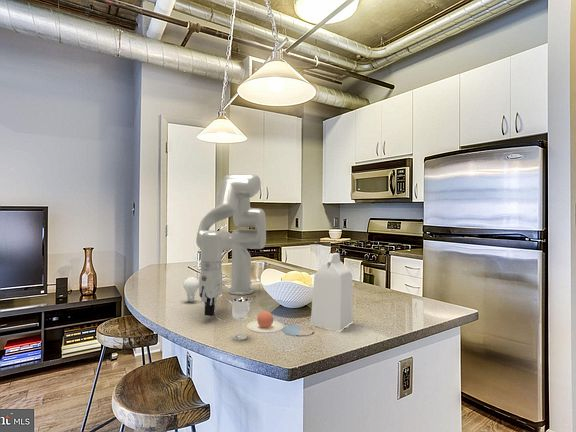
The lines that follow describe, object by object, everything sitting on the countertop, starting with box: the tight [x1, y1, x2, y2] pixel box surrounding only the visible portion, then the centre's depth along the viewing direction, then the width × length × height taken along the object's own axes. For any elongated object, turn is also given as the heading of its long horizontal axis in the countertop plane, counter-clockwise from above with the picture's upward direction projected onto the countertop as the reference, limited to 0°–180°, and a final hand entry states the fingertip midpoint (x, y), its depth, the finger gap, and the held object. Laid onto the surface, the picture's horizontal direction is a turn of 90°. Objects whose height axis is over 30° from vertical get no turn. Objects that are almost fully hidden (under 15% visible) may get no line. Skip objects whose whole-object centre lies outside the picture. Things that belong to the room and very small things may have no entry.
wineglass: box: [231, 297, 251, 341], centre depth 109 cm, size 6×6×12 cm
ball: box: [256, 310, 274, 328], centre depth 119 cm, size 6×6×6 cm
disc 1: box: [246, 320, 285, 334], centre depth 121 cm, size 13×13×1 cm
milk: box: [310, 252, 354, 330], centre depth 125 cm, size 12×12×26 cm
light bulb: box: [183, 276, 200, 303], centre depth 149 cm, size 7×7×11 cm
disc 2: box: [281, 324, 302, 337], centre depth 117 cm, size 11×11×1 cm
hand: (209, 315), depth 127 cm, fingers closed
